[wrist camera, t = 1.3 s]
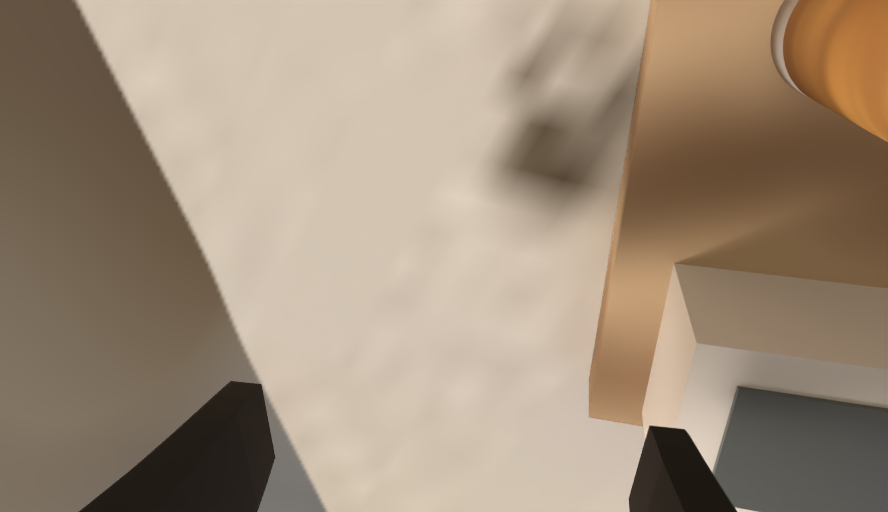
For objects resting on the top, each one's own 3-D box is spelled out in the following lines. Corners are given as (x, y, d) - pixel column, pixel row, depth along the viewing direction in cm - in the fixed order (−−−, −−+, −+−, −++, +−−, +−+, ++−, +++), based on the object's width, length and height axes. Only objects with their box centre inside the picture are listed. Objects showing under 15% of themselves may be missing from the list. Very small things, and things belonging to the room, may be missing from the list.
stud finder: (980, 466, 17) (1088, 604, 13) (641, 412, 19) (654, 521, 15) (1063, 309, 15) (1220, 420, 11) (674, 263, 16) (697, 347, 13)
